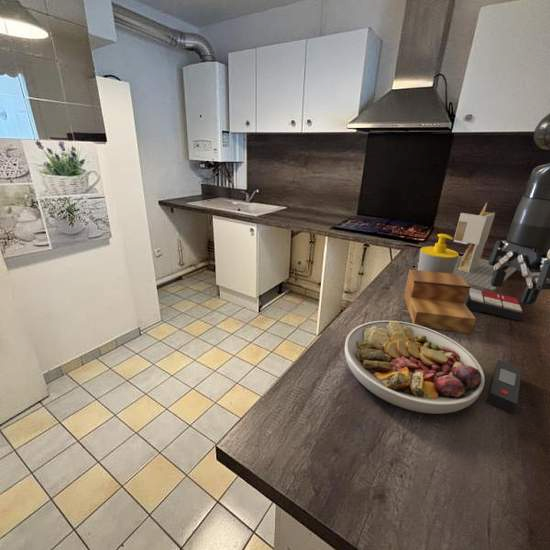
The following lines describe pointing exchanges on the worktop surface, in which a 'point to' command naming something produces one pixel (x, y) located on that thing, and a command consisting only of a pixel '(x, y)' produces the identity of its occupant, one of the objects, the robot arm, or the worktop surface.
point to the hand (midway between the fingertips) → (509, 294)
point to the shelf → (438, 301)
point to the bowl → (413, 366)
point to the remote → (505, 386)
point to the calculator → (493, 304)
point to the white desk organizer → (475, 249)
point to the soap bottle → (438, 257)
